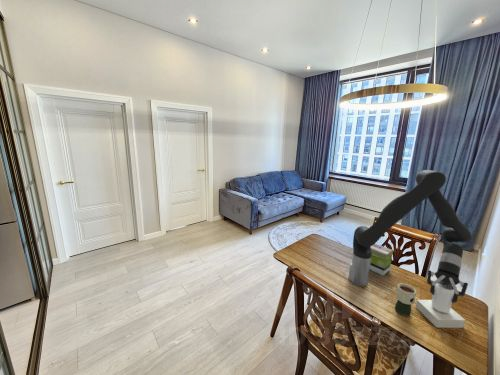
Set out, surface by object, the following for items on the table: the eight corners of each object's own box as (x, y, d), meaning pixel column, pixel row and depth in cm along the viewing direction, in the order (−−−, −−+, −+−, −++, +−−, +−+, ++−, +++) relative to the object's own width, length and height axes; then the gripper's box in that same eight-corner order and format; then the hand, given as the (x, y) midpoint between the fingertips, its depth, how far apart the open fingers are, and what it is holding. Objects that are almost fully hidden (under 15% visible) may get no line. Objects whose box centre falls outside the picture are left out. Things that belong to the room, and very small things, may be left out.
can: (453, 314, 95) (459, 291, 92) (436, 312, 96) (441, 289, 93) (443, 303, 101) (448, 281, 98) (427, 301, 102) (432, 280, 100)
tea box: (358, 265, 140) (361, 244, 137) (365, 260, 146) (368, 240, 143) (383, 276, 129) (387, 254, 125) (390, 270, 135) (393, 249, 131)
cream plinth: (436, 327, 93) (438, 319, 93) (415, 306, 105) (417, 299, 104) (463, 327, 93) (465, 320, 93) (439, 306, 105) (441, 300, 104)
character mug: (408, 322, 96) (413, 298, 93) (390, 313, 101) (394, 289, 98) (414, 310, 103) (418, 286, 100) (396, 302, 108) (400, 279, 105)
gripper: (430, 256, 104) (422, 288, 98) (472, 268, 94) (466, 305, 88) (429, 261, 109) (422, 292, 103) (469, 273, 99) (463, 309, 93)
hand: (442, 298), depth 96 cm, fingers closed on can, 6 cm apart
